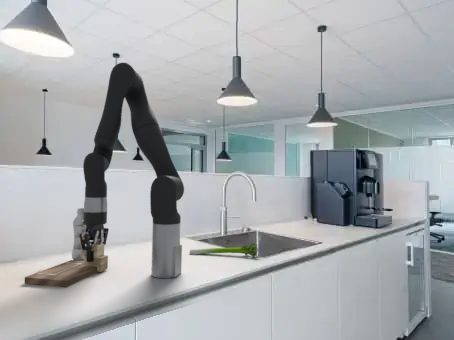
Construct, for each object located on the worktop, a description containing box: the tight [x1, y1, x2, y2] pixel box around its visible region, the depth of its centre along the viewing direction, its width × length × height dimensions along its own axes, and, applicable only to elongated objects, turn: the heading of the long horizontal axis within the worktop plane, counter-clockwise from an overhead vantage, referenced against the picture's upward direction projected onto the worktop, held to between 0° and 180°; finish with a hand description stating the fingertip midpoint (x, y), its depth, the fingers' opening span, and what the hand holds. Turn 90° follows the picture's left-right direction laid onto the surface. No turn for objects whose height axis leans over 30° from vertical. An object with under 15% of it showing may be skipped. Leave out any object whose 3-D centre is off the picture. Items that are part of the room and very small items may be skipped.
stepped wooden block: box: [83, 243, 109, 273], centre depth 110 cm, size 8×4×8 cm, turn 80°
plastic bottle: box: [71, 207, 86, 261], centre depth 123 cm, size 6×7×20 cm
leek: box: [189, 243, 259, 258], centre depth 136 cm, size 6×7×30 cm
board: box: [24, 259, 98, 289], centre depth 104 cm, size 14×21×2 cm, turn 170°
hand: (94, 259), depth 110 cm, fingers closed on stepped wooden block, 4 cm apart
